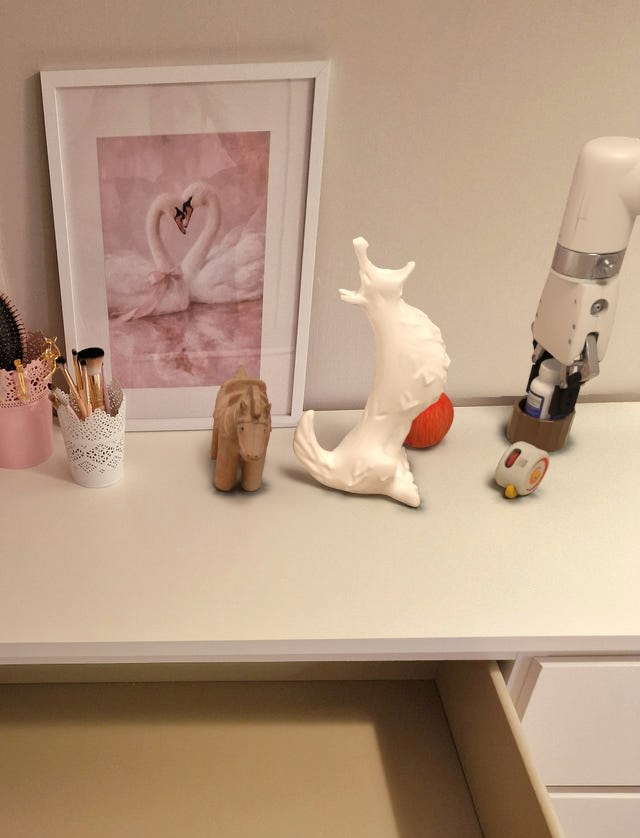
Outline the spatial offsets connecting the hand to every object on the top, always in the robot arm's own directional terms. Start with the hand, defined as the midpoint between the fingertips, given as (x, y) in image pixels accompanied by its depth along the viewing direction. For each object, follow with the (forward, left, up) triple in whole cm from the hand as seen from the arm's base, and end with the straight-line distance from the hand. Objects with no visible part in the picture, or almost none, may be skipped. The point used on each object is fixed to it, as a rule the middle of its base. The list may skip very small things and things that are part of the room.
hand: (548, 401), depth 113 cm
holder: (0, 0, -5) cm, 5 cm away
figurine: (+41, +2, -6) cm, 42 cm away
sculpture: (+27, +6, -6) cm, 29 cm away
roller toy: (+8, +11, -6) cm, 15 cm away
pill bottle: (0, 0, -4) cm, 4 cm away
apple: (+16, -3, -6) cm, 17 cm away
